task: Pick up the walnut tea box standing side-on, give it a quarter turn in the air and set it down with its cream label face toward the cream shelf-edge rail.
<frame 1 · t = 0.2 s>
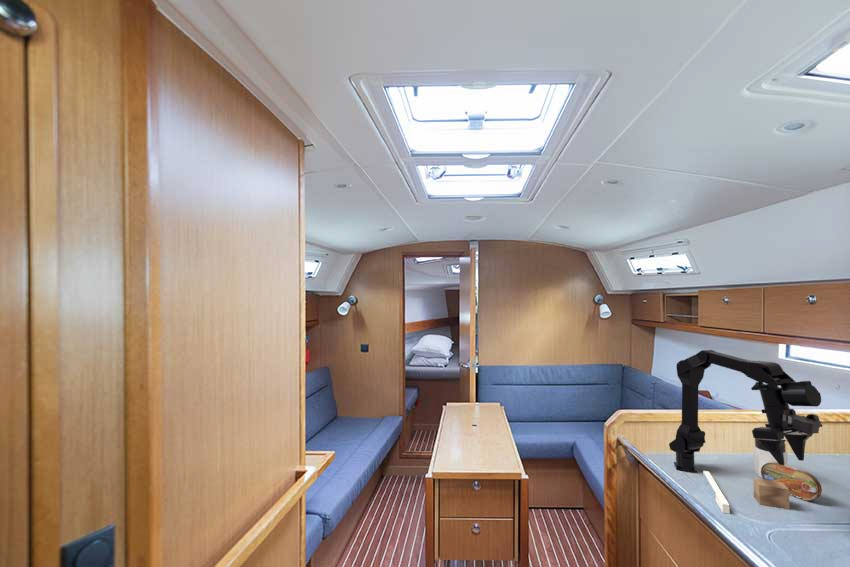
hand: (791, 462, 114), 15 cm above the counter, tool pointing down, fingers open, 9 cm apart
jar: (771, 476, 139), on the counter
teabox: (771, 503, 121), on the counter
rail: (715, 494, 127), on the counter
tin: (790, 494, 127), on the counter
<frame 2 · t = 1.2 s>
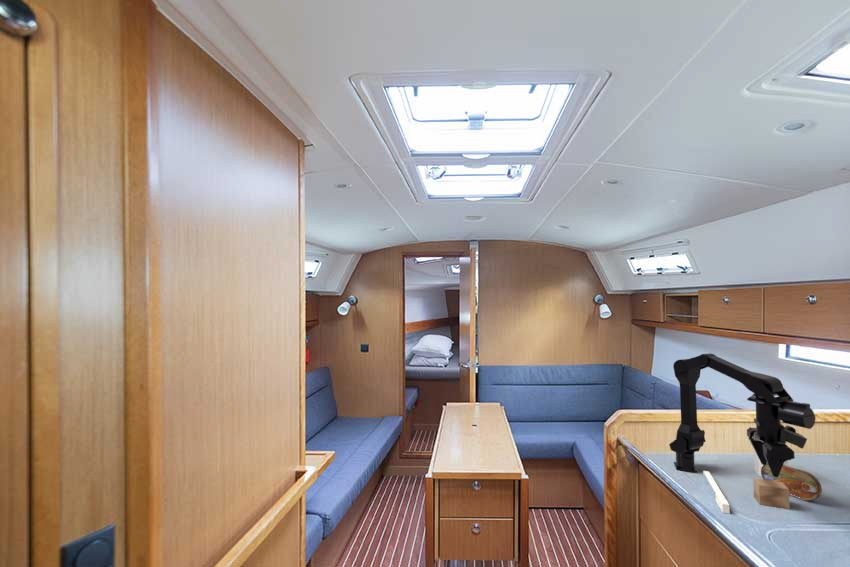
hand: (769, 470, 122), 10 cm above the counter, tool pointing down, fingers open, 9 cm apart
nothing on the counter moved.
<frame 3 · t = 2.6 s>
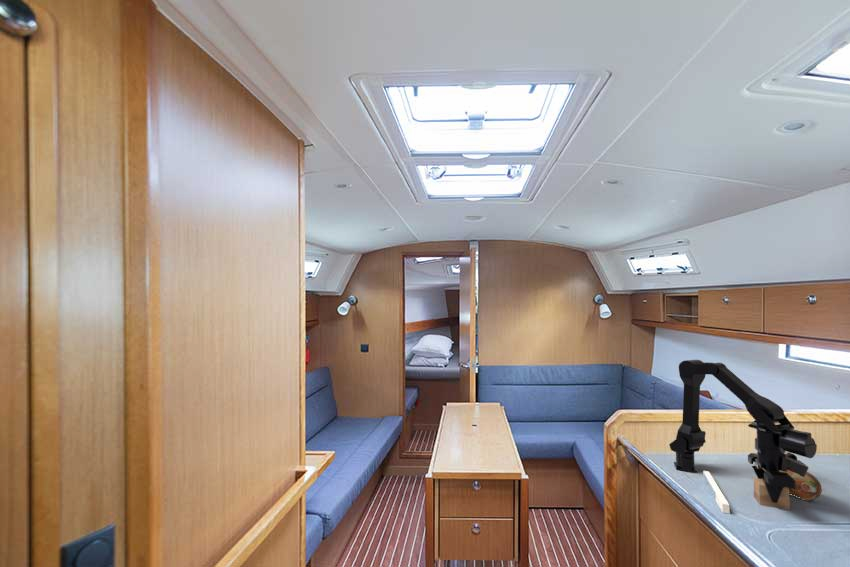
hand: (771, 498, 121), 2 cm above the counter, tool pointing down, fingers closed on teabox, 5 cm apart
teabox: (771, 503, 121), on the counter, touching gripper
everything else where it was.
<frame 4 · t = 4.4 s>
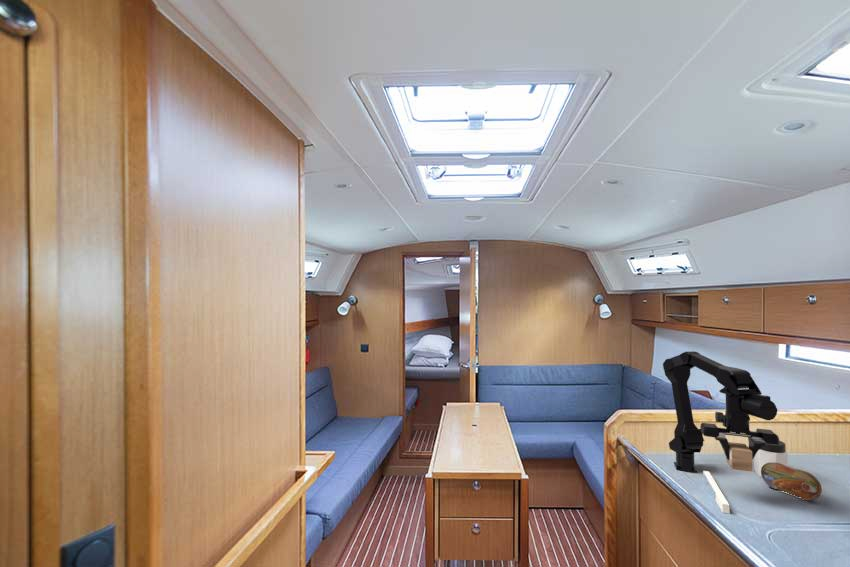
hand: (738, 460, 125), 11 cm above the counter, tool pointing down, fingers closed on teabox, 5 cm apart
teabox: (738, 465, 125), point 10 cm above the counter, touching gripper
everything else where it was.
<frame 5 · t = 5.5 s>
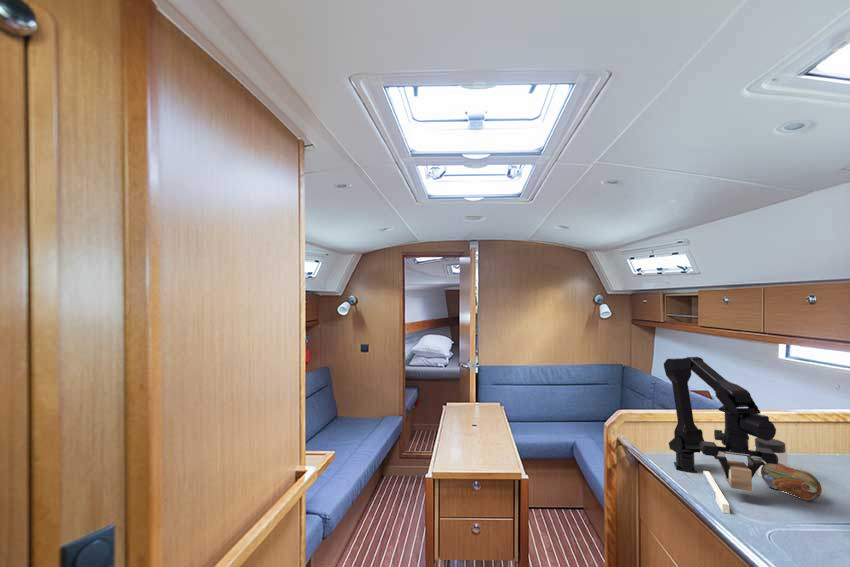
hand: (737, 479, 125), 6 cm above the counter, tool pointing down, fingers closed on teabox, 5 cm apart
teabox: (738, 484, 125), point 4 cm above the counter, touching gripper
everything else where it was.
when the fingers open (2 cm above the counter, at t = 6.5 s): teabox drops 1 cm, on the counter.
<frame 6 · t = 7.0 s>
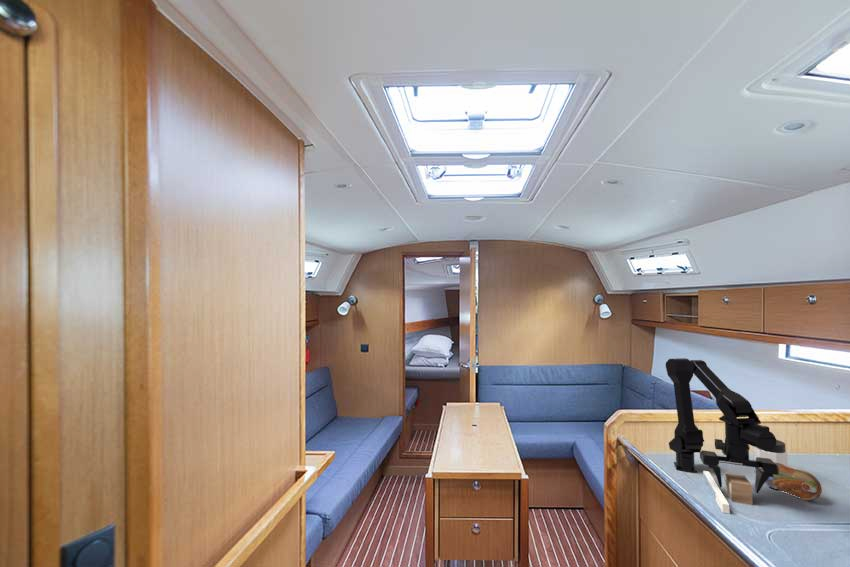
hand: (738, 489, 124), 2 cm above the counter, tool pointing down, fingers open, 9 cm apart
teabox: (738, 498, 124), on the counter
everything else where it was.
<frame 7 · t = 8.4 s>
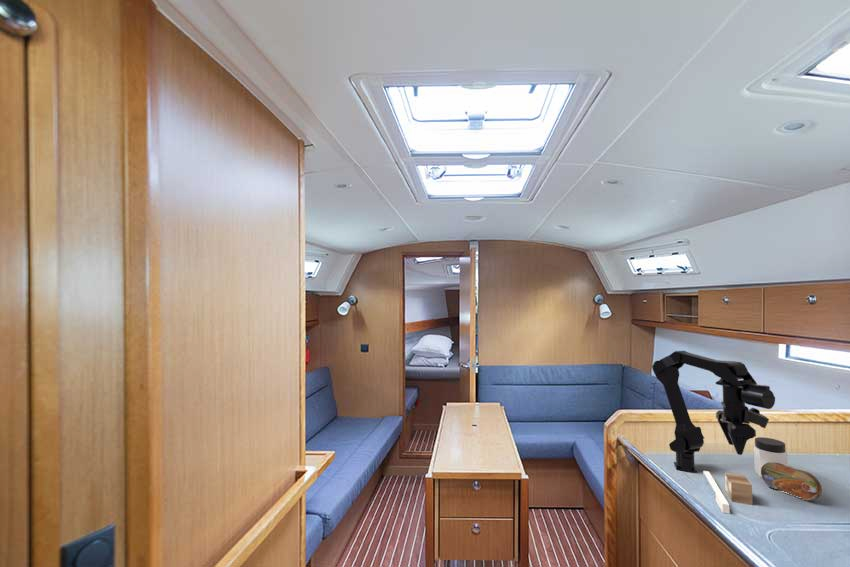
hand: (735, 449, 130), 13 cm above the counter, tool pointing down, fingers open, 9 cm apart
nothing on the counter moved.
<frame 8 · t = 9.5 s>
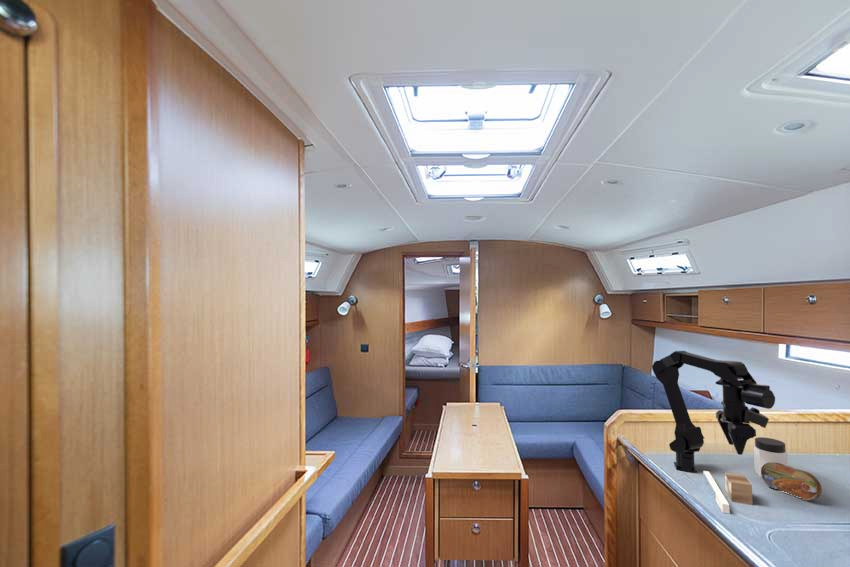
hand: (735, 449, 130), 13 cm above the counter, tool pointing down, fingers open, 9 cm apart
nothing on the counter moved.
at the end: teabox inside the target area (0.1 cm from its centre), on the counter; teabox tilted 0°; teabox moved 8.0 cm from its start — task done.
